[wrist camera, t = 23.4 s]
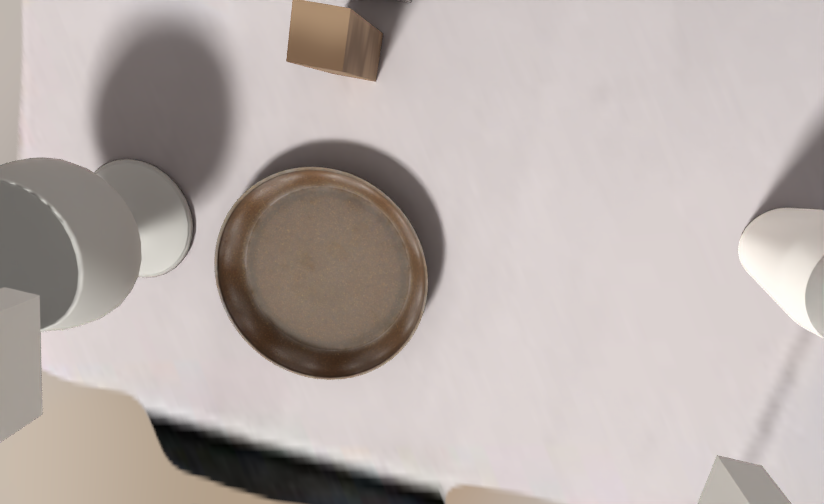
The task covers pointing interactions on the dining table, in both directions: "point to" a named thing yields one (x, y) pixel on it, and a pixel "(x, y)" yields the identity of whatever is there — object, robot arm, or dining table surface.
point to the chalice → (87, 234)
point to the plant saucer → (321, 273)
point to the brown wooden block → (333, 40)
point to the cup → (789, 262)
